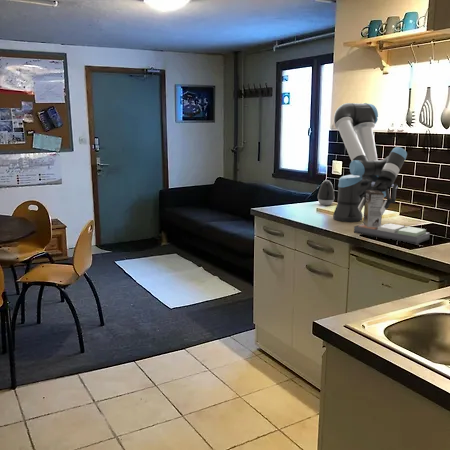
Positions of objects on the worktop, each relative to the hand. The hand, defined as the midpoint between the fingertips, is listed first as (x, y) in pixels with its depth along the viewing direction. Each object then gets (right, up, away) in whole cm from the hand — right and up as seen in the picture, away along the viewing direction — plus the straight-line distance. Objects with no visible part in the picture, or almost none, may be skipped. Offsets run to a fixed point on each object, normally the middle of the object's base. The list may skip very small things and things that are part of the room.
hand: (370, 211), depth 227 cm
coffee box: (+2, -7, +4) cm, 8 cm away
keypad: (+9, -11, -2) cm, 15 cm away
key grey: (+9, -9, -3) cm, 13 cm away
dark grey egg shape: (-5, +6, +78) cm, 78 cm away
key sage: (+16, -11, -9) cm, 21 cm away
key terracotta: (+2, -9, +4) cm, 10 cm away
